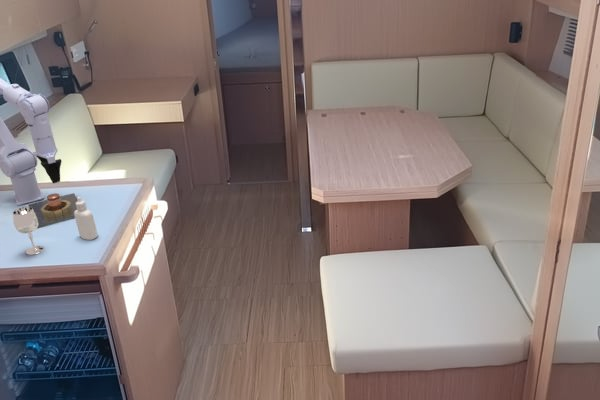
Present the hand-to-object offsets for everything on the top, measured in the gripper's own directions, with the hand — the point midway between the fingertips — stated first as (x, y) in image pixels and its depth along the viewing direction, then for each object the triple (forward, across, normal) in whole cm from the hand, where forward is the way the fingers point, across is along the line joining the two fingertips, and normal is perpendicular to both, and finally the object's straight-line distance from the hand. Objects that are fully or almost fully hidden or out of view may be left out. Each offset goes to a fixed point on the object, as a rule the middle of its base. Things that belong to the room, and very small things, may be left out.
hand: (54, 178), depth 172 cm
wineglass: (+10, +26, -12) cm, 30 cm away
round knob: (+8, +5, -2) cm, 10 cm away
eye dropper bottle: (+10, +27, +2) cm, 29 cm away
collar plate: (+9, +3, -2) cm, 10 cm away
